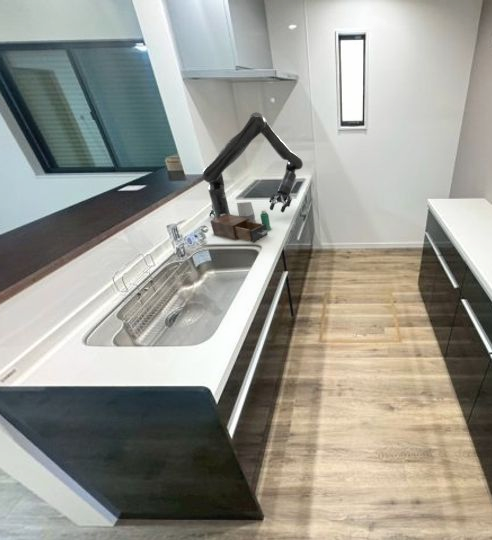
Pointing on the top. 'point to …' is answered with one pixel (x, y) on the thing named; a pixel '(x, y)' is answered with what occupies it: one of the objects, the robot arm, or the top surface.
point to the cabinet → (227, 225)
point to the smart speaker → (246, 210)
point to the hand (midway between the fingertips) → (276, 210)
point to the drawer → (251, 231)
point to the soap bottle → (265, 219)
